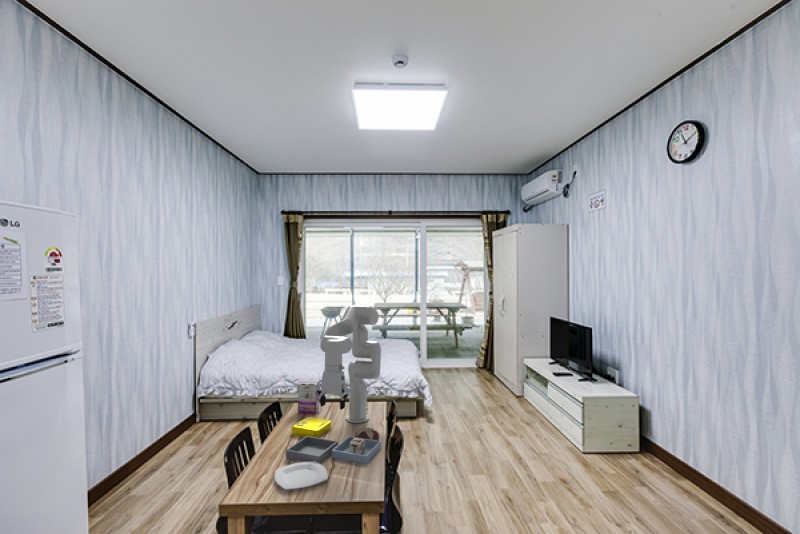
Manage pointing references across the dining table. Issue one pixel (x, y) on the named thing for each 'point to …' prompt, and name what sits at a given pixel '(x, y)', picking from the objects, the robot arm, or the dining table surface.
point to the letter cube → (357, 446)
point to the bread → (367, 434)
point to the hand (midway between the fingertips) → (332, 407)
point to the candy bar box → (308, 398)
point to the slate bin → (343, 453)
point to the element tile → (311, 427)
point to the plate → (300, 475)
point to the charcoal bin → (311, 449)
